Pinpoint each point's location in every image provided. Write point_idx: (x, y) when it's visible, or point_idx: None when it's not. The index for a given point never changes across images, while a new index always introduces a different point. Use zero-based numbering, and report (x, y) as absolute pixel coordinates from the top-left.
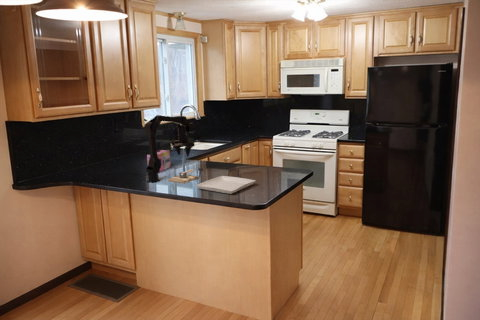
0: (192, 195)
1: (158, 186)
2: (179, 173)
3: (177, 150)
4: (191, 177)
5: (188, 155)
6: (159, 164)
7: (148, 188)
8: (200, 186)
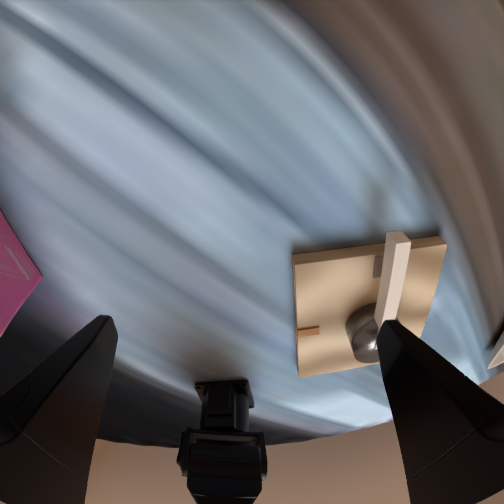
0: (476, 381)
1: (319, 411)
2: (363, 361)
3: (92, 432)
4: (420, 291)
5: (400, 329)
6: (266, 472)
7: (302, 430)
8: (499, 363)
